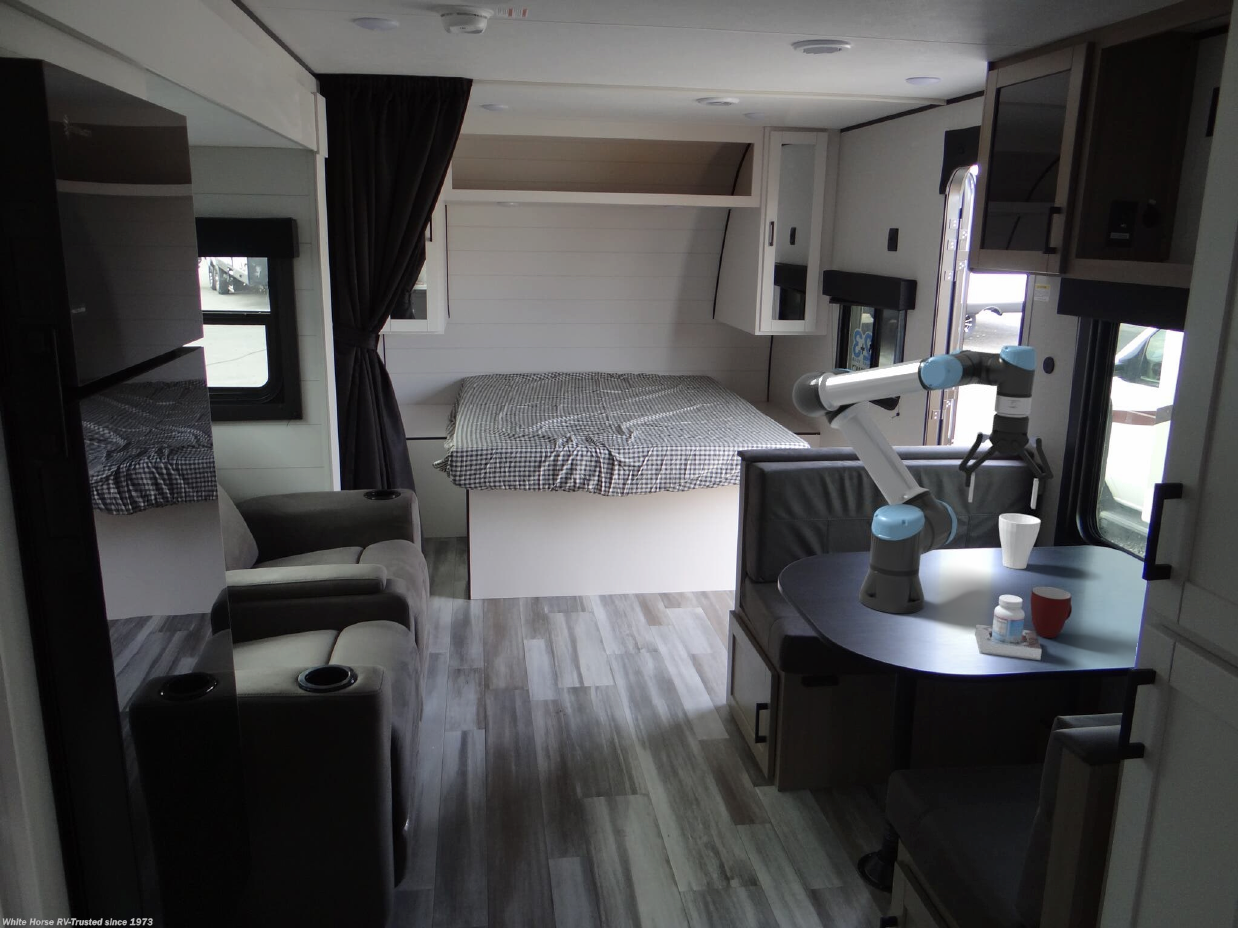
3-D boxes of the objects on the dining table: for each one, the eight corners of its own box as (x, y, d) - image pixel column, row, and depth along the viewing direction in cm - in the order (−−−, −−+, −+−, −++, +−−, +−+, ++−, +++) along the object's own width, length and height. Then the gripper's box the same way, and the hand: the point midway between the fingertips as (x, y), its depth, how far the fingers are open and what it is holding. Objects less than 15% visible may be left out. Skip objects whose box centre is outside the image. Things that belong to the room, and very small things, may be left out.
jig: (979, 652, 197) (980, 641, 196) (975, 634, 206) (976, 624, 206) (1040, 660, 194) (1041, 649, 193) (1033, 641, 203) (1034, 631, 203)
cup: (1037, 564, 256) (1043, 517, 253) (1031, 574, 247) (1037, 526, 244) (997, 557, 261) (1002, 511, 258) (990, 567, 252) (995, 519, 249)
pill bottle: (1019, 643, 202) (1025, 595, 200) (1021, 654, 196) (1028, 605, 194) (989, 639, 204) (995, 591, 201) (991, 650, 198) (997, 601, 196)
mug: (1047, 623, 214) (1052, 582, 212) (1080, 635, 207) (1086, 593, 205) (1019, 631, 208) (1024, 590, 206) (1051, 644, 202) (1057, 601, 200)
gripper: (953, 412, 211) (944, 502, 216) (1073, 421, 203) (1061, 514, 208) (954, 407, 218) (945, 494, 223) (1070, 416, 210) (1058, 506, 214)
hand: (1001, 504), depth 215 cm, fingers open, 13 cm apart
